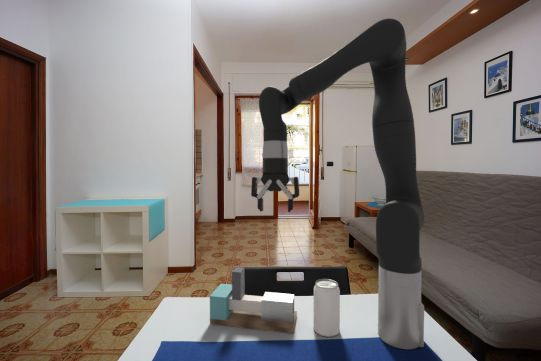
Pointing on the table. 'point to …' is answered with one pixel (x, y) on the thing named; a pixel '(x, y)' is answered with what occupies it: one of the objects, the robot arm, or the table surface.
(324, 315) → the can
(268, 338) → the table surface
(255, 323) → the board
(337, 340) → the table surface
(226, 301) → the socket
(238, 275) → the sliding bolt
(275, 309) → the grey speckled block
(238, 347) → the table surface
